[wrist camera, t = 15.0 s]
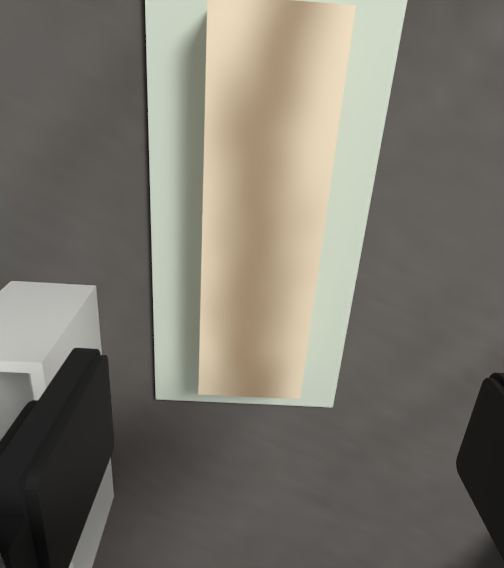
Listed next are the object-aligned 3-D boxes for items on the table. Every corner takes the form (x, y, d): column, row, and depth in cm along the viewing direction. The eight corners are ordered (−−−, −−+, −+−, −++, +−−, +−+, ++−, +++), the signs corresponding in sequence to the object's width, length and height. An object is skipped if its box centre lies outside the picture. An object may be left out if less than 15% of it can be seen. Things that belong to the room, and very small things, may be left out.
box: (96, 285, 27) (41, 362, 20) (114, 496, 35) (79, 607, 28) (11, 280, 27) (-75, 357, 20) (48, 493, 35) (-5, 605, 27)
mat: (414, -57, 20) (418, -60, 20) (331, 402, 31) (332, 407, 31) (144, -81, 20) (142, -85, 19) (157, 394, 31) (155, 399, 30)
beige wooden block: (341, 14, 21) (356, 5, 18) (294, 368, 29) (300, 399, 27) (212, 3, 21) (207, -7, 18) (202, 364, 29) (198, 394, 26)
